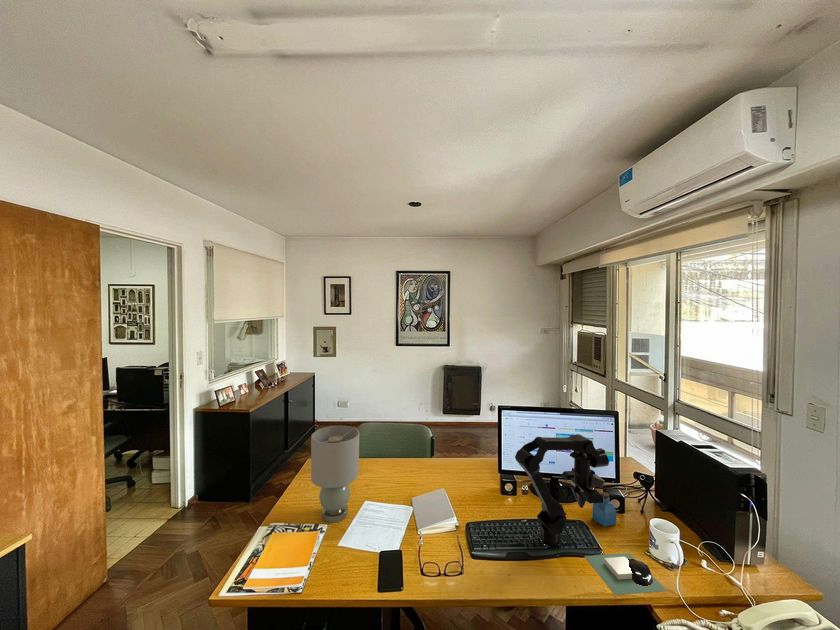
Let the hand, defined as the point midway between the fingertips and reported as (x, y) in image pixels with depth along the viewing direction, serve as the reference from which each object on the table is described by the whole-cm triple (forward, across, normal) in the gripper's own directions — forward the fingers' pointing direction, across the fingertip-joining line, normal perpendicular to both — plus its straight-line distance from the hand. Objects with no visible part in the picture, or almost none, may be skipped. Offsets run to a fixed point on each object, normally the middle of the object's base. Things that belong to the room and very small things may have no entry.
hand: (581, 507), depth 127 cm
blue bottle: (+12, +8, -16) cm, 22 cm away
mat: (+12, -18, -4) cm, 22 cm away
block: (+11, -14, -4) cm, 18 cm away
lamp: (+12, +22, +99) cm, 102 cm away
